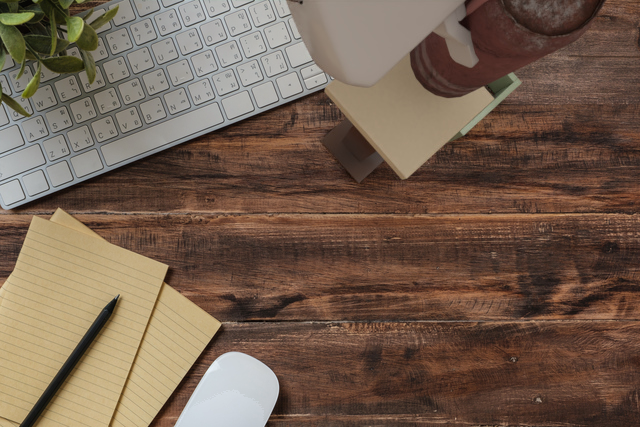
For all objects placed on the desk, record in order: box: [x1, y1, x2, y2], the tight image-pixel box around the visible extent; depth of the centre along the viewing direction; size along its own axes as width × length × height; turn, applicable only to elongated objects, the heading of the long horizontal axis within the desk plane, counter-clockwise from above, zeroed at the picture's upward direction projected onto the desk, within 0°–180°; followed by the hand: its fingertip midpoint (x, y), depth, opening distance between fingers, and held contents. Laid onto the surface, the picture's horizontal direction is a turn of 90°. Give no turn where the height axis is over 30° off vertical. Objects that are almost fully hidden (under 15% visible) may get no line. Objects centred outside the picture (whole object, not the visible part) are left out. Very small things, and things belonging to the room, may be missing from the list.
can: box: [410, 0, 607, 98], centre depth 28 cm, size 6×6×14 cm
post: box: [319, 116, 385, 185], centre depth 54 cm, size 8×8×27 cm
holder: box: [447, 72, 523, 143], centre depth 66 cm, size 11×11×6 cm
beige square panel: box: [323, 53, 494, 181], centre depth 40 cm, size 10×10×2 cm
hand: (501, 28), depth 27 cm, fingers closed on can, 3 cm apart
